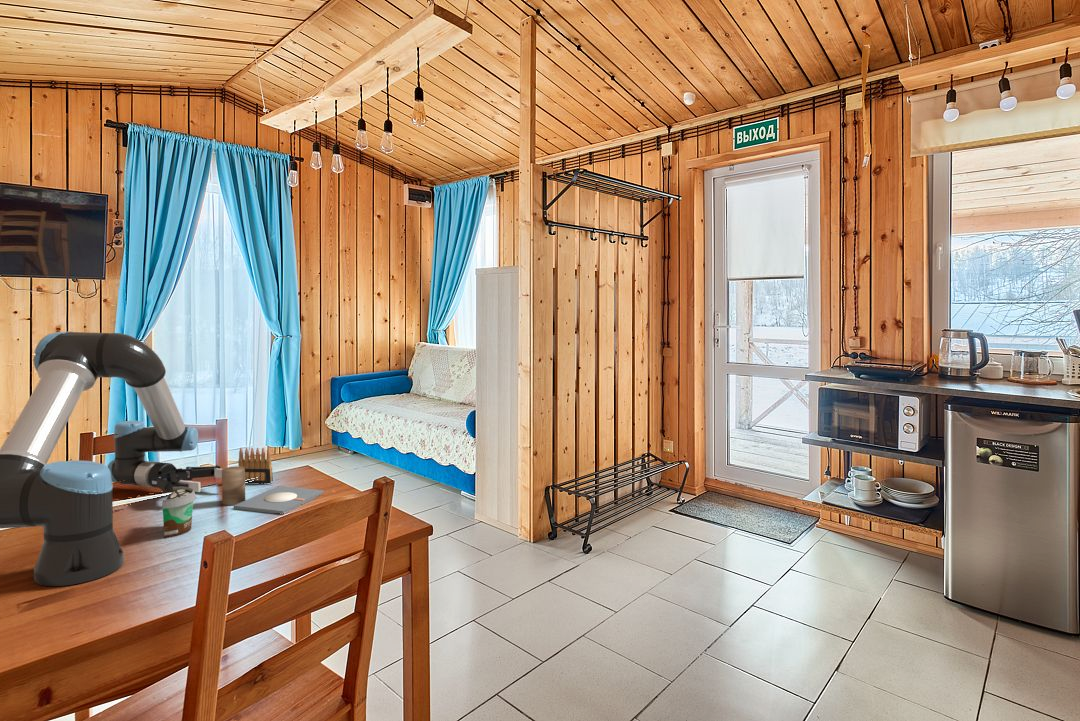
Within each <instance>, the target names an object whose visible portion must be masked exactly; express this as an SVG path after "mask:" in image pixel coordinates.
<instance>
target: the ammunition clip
mask: <svg viewBox="0 0 1080 721" xmlns="http://www.w3.org/2000/svg"><path fill="white" fill-rule="evenodd" d="M238 454H239V455H238V466H239V467H244V468H245V480H247V479H250V480H247V481H245V482H248V483H259V484H258V485H265V484H264V483H271V481H273V466H272V456H271V455H272V454H271V449H270V447H268V448H267V451H266V450H265V448H264V447H262V449H261V452H260V449H259V447H256V451H255V449H254V447H251V449H250V452H249V449H248V447H246V448H245V449H244V451H243V447H240V448H239V452H238ZM256 477H258V478H256ZM251 478H255V479H251ZM257 479H258V480H257ZM252 480H254V481H252ZM249 481H252V482H249ZM273 482H274V481H273ZM261 483H263V484H261ZM271 484H272V483H271Z"/></svg>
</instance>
